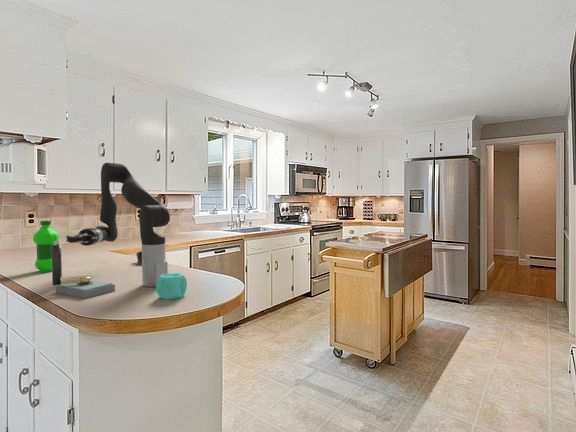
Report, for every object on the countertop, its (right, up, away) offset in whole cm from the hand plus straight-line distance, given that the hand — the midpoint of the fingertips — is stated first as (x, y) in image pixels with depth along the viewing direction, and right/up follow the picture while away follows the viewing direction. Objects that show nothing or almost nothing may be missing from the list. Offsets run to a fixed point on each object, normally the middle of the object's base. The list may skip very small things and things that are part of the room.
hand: (71, 240), depth 140 cm
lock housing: (+10, -20, -6) cm, 23 cm away
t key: (+6, -16, -9) cm, 19 cm away
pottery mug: (+7, -17, +54) cm, 57 cm away
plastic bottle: (-32, -18, +33) cm, 49 cm away
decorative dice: (+45, -20, -13) cm, 51 cm away
